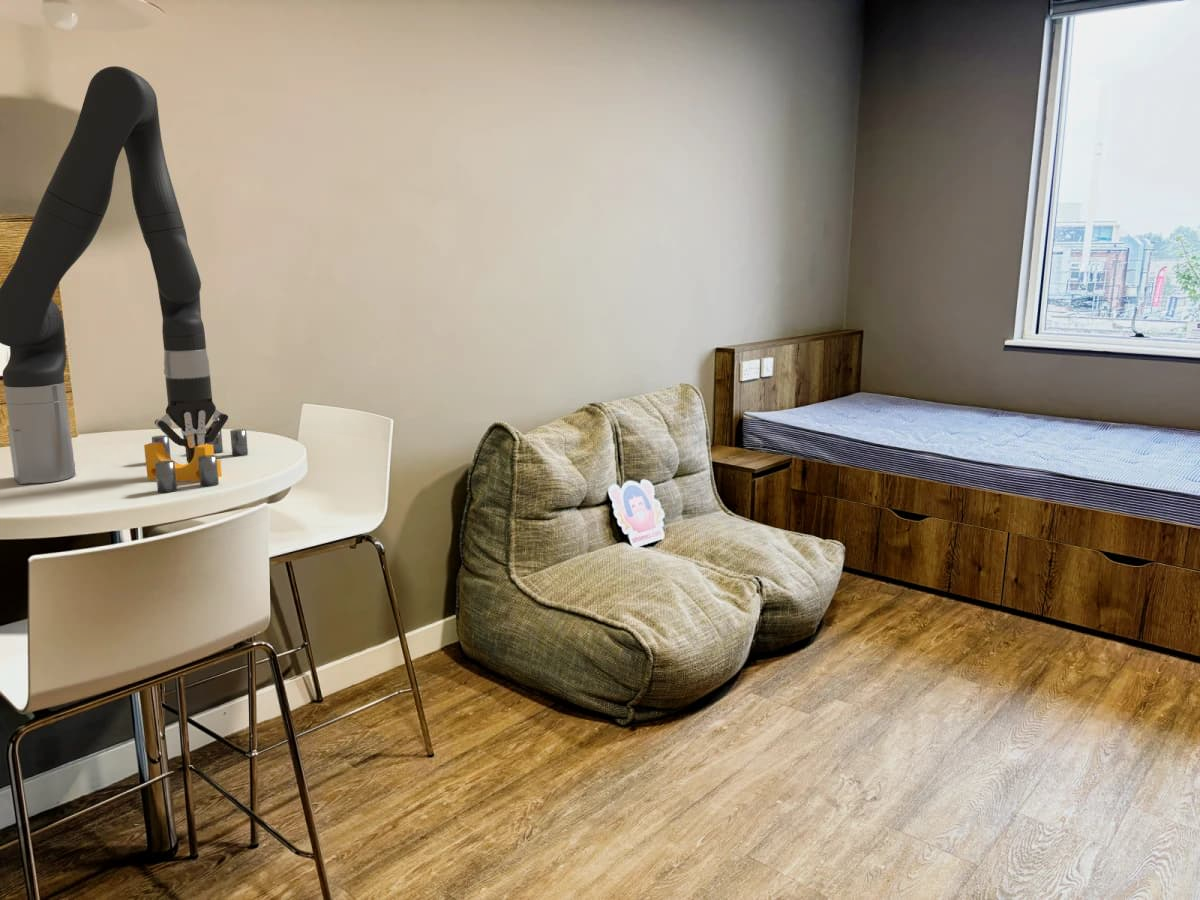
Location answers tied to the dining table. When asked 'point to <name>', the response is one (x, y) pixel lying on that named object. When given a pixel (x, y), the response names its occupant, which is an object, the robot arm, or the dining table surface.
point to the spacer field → (206, 462)
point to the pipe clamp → (183, 472)
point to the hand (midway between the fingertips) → (196, 466)
